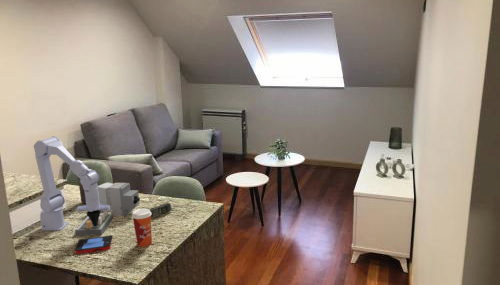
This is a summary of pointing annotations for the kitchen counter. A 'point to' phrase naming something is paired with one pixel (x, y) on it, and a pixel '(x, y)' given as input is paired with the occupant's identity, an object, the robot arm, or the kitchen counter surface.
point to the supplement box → (104, 194)
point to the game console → (93, 244)
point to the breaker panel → (95, 230)
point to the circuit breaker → (122, 199)
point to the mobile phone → (160, 210)
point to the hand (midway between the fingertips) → (95, 225)
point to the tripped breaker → (89, 224)
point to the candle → (82, 191)
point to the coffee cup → (142, 226)
